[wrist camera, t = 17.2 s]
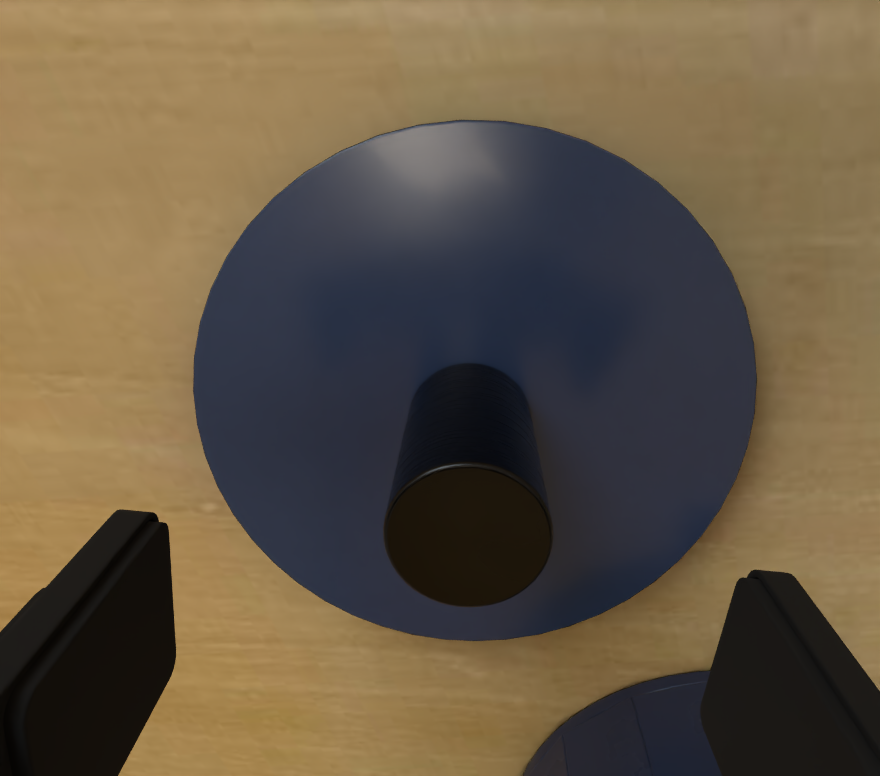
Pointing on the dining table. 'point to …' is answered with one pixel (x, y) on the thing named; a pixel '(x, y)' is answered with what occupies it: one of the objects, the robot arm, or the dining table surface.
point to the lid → (474, 380)
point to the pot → (634, 734)
